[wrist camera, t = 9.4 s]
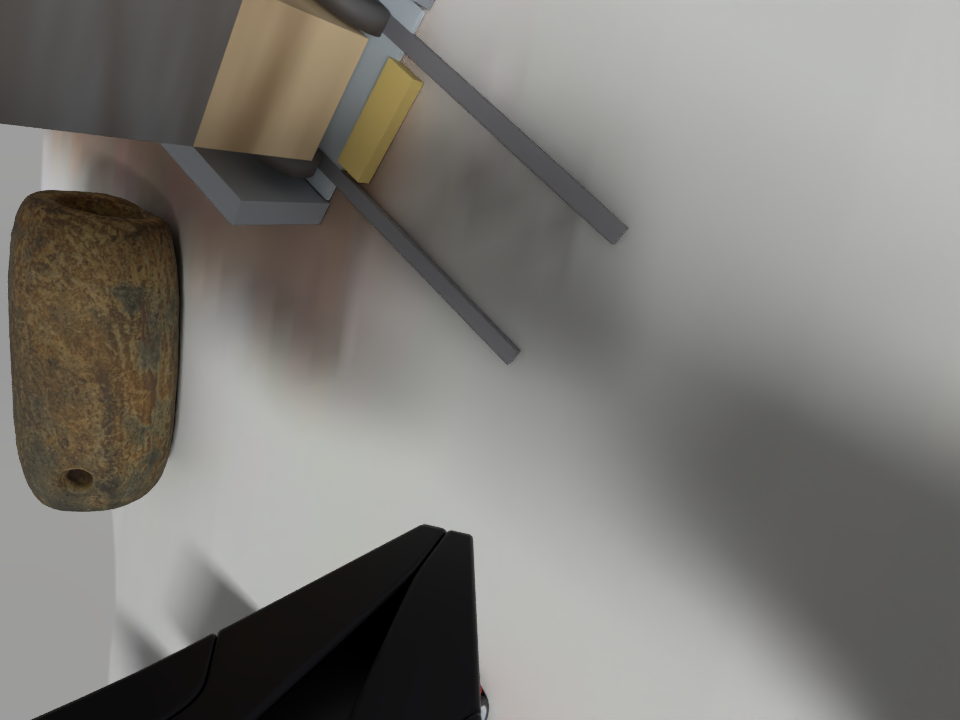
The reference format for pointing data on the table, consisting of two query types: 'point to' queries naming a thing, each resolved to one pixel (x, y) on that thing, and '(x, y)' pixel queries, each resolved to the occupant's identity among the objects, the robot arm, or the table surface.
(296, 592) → the robot arm
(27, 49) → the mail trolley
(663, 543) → the table surface
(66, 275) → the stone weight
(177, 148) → the tray
